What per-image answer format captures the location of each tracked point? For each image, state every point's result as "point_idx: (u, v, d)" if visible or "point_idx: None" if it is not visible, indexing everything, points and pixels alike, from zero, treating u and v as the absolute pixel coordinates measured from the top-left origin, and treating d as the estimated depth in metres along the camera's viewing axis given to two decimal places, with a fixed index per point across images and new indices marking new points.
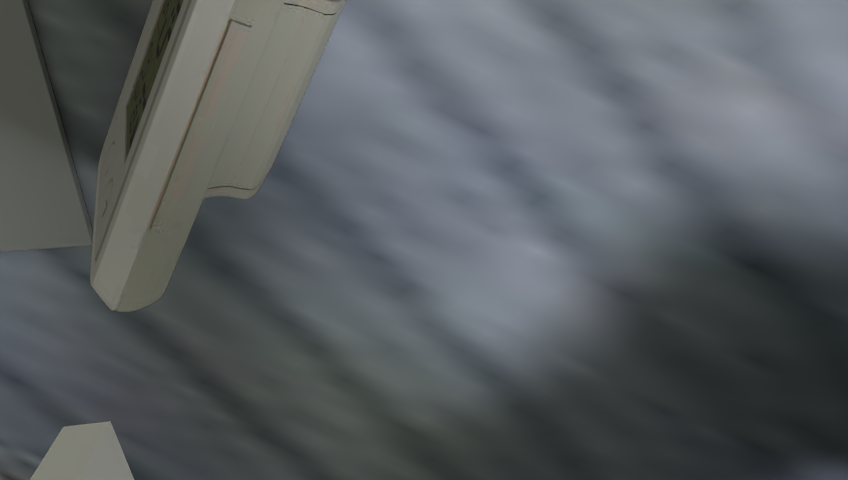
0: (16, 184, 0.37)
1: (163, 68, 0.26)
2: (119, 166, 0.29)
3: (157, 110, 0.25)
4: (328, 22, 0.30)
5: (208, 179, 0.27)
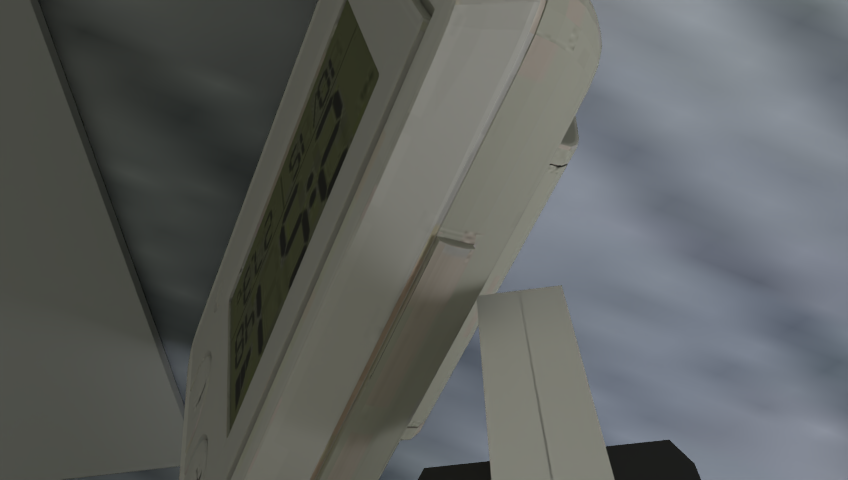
0: (90, 395, 0.27)
1: (298, 306, 0.14)
2: (218, 431, 0.17)
3: (288, 389, 0.13)
4: (559, 176, 0.18)
5: None
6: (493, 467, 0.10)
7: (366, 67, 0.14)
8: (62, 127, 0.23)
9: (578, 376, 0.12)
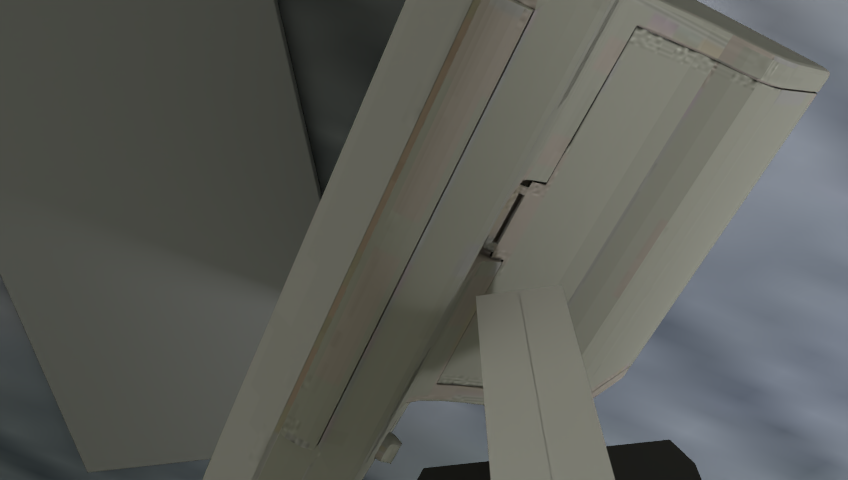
0: None
1: None
2: None
3: (326, 188, 0.12)
4: (761, 102, 0.14)
5: (409, 358, 0.13)
6: (492, 467, 0.10)
7: None
8: (278, 86, 0.22)
9: (578, 376, 0.12)
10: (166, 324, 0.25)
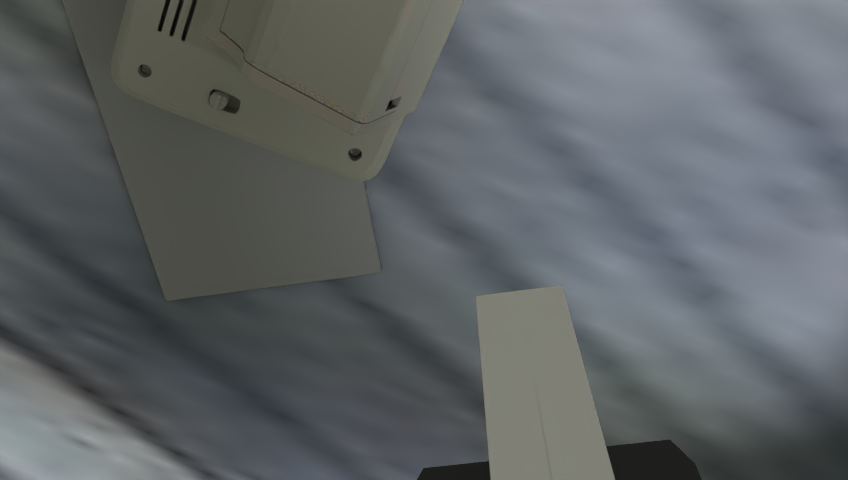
0: (305, 214, 0.35)
1: None
2: None
3: None
4: None
5: None
6: (492, 467, 0.10)
7: None
8: None
9: (578, 376, 0.12)
10: (229, 180, 0.34)
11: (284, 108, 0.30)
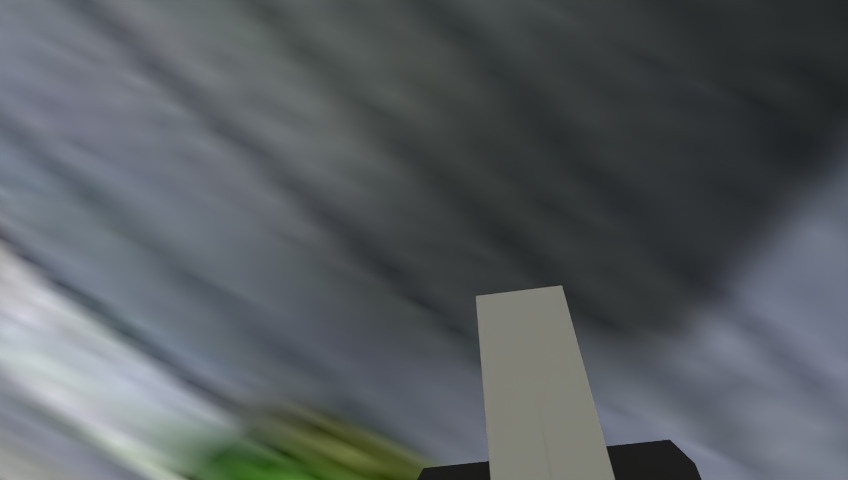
0: None
1: None
2: None
3: None
4: None
5: None
6: (492, 467, 0.10)
7: None
8: None
9: (579, 376, 0.12)
10: None
11: None
